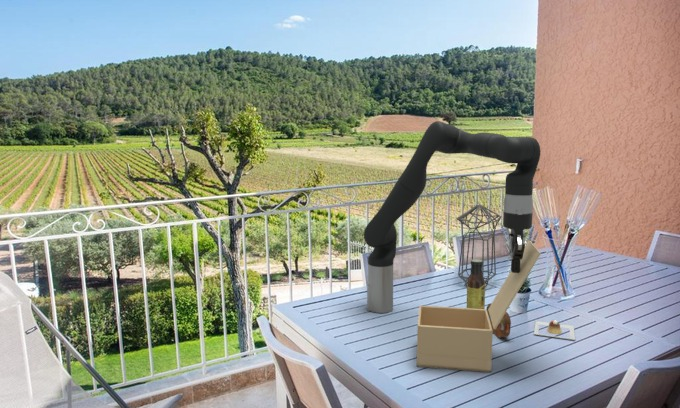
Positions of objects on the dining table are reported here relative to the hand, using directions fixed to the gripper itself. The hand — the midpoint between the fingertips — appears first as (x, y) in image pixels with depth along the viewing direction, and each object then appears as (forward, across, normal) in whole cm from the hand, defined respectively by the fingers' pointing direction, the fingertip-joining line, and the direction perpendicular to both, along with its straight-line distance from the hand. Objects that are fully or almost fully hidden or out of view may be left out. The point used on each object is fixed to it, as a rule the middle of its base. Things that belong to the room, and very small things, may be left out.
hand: (515, 272), depth 141 cm
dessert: (+27, -25, +17) cm, 41 cm away
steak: (+26, -21, -1) cm, 34 cm away
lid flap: (+3, 0, -1) cm, 3 cm away
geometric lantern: (+26, -71, -4) cm, 76 cm away
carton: (+26, 0, -16) cm, 31 cm away
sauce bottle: (+26, -36, -8) cm, 46 cm away
